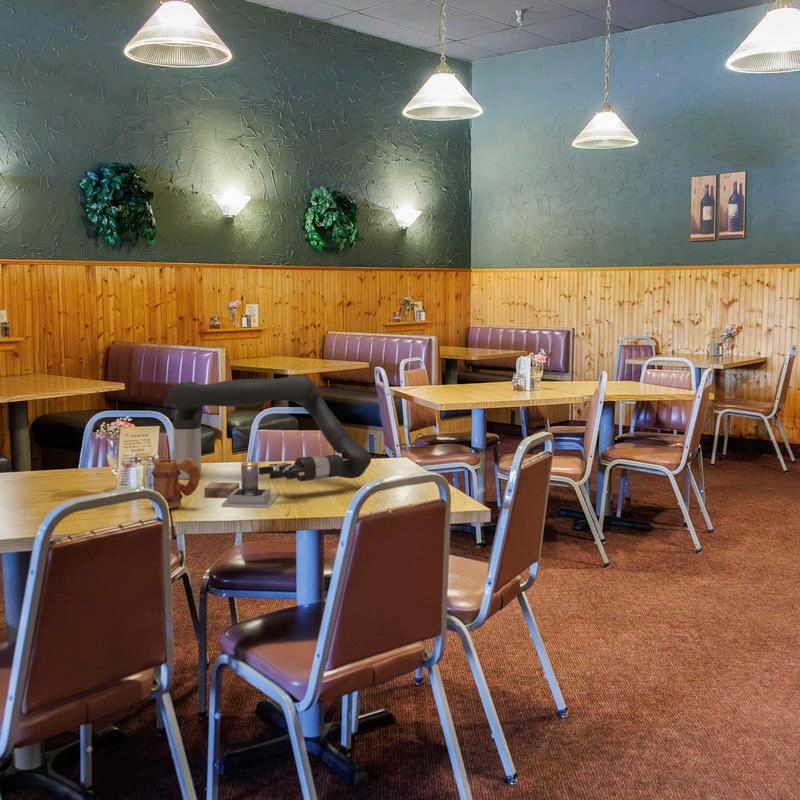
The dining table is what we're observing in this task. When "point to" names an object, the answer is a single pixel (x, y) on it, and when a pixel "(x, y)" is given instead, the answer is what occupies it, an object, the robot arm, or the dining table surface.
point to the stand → (220, 489)
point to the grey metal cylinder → (249, 478)
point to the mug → (175, 479)
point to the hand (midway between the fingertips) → (264, 473)
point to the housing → (250, 499)
